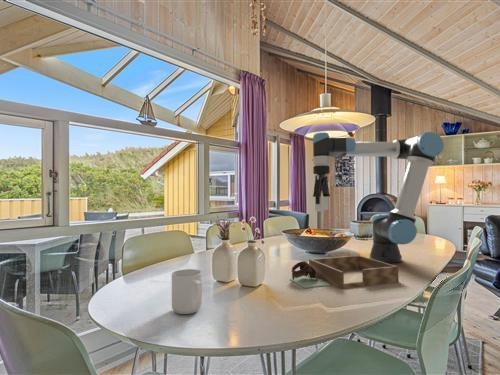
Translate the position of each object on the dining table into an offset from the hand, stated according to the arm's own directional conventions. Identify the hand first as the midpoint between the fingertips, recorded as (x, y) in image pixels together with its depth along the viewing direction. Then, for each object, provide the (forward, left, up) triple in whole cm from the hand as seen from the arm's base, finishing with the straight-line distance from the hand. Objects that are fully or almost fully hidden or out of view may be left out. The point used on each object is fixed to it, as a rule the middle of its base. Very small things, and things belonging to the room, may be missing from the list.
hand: (322, 210), depth 148 cm
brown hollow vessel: (+17, +17, -27) cm, 36 cm away
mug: (+66, +34, -27) cm, 79 cm away
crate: (-2, +19, -27) cm, 33 cm away
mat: (+18, +20, -27) cm, 38 cm away
